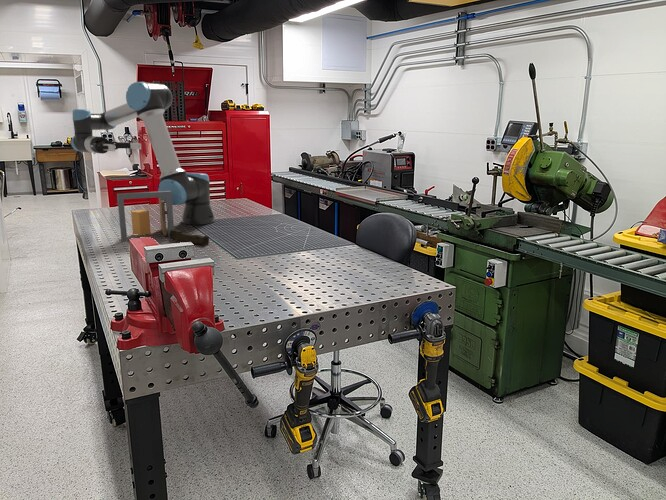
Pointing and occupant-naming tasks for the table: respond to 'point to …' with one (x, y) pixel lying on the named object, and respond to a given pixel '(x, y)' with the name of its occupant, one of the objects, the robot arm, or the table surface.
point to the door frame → (143, 195)
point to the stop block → (140, 222)
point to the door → (162, 215)
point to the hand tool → (188, 237)
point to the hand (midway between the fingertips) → (127, 147)
